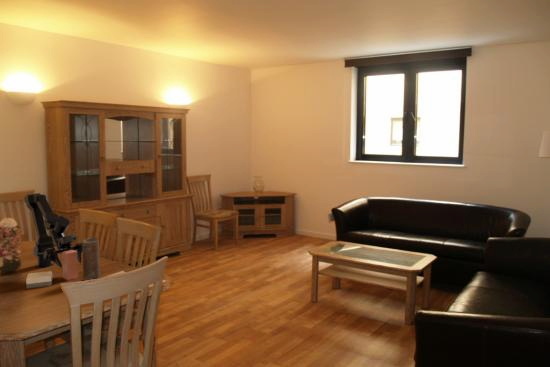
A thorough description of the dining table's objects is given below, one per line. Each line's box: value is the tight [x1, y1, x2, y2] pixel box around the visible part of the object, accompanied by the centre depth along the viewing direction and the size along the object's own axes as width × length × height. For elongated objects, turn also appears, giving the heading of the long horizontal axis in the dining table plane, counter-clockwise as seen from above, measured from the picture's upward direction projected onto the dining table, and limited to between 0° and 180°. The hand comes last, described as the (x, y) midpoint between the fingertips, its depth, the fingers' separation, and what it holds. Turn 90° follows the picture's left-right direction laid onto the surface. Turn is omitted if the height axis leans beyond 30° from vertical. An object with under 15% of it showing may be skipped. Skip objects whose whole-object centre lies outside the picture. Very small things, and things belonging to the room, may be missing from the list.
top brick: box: [61, 250, 79, 281], centre depth 217 cm, size 5×5×13 cm
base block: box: [25, 270, 53, 289], centre depth 209 cm, size 10×10×4 cm
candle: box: [82, 237, 101, 281], centre depth 213 cm, size 8×7×20 cm
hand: (71, 264), depth 216 cm, fingers open, 9 cm apart
